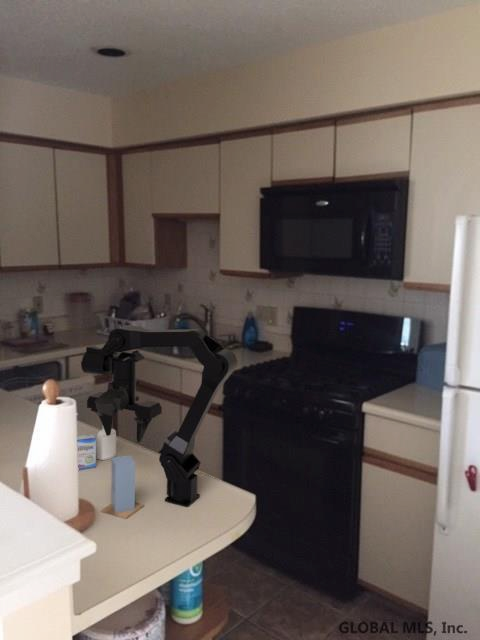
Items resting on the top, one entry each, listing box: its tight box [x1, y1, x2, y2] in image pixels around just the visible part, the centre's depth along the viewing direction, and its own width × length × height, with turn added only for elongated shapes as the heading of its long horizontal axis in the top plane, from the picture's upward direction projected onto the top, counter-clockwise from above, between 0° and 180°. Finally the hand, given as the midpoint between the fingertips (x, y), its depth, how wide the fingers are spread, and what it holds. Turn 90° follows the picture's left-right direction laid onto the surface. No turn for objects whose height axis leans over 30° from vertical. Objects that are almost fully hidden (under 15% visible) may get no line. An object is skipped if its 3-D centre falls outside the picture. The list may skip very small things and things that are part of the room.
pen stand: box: [100, 501, 145, 520], centre depth 132 cm, size 7×7×5 cm
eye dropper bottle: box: [96, 425, 117, 461], centre depth 161 cm, size 4×6×12 cm
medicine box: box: [76, 432, 97, 471], centre depth 154 cm, size 8×4×9 cm, turn 117°
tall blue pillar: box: [110, 454, 136, 513], centre depth 131 cm, size 4×4×12 cm
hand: (123, 438), depth 141 cm, fingers open, 9 cm apart
